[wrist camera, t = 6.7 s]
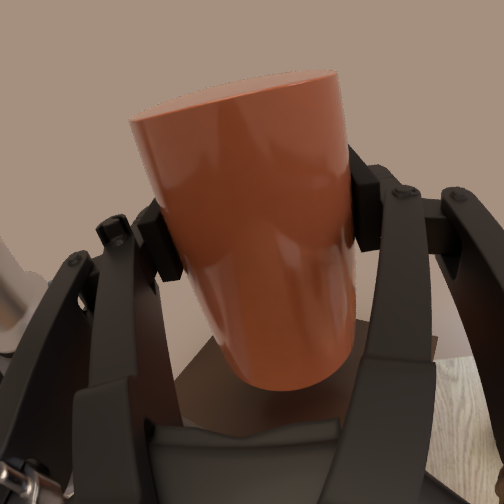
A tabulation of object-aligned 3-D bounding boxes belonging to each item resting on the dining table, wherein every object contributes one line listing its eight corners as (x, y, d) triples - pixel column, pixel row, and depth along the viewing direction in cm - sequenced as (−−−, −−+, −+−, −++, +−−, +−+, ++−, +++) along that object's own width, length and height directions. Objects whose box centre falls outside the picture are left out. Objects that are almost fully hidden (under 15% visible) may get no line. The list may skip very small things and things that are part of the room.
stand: (237, 477, 32) (157, 399, 20) (284, 407, 39) (248, 291, 27) (354, 526, 23) (383, 502, 11) (394, 442, 31) (438, 336, 19)
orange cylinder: (197, 361, 16) (90, 133, 9) (264, 278, 20) (214, 84, 14) (321, 412, 12) (272, 94, 5) (371, 302, 16) (360, 66, 10)
